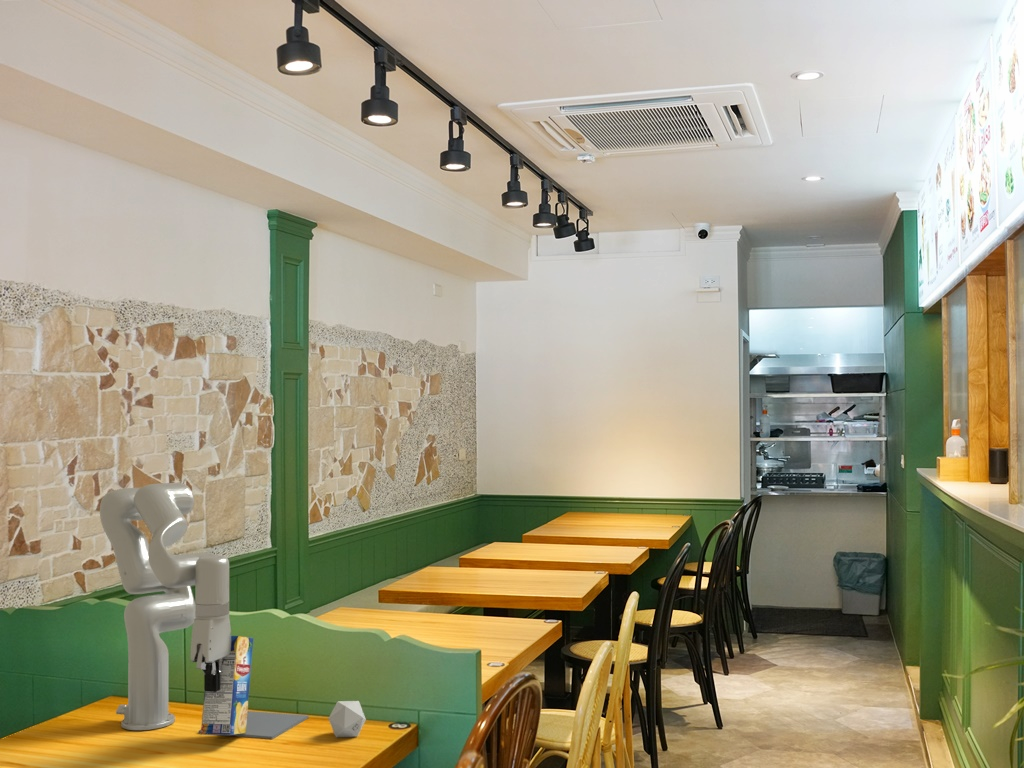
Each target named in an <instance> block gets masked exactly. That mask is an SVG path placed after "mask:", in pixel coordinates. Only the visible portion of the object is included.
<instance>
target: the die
mask: <svg viewBox="0 0 1024 768" xmlns="http://www.w3.org/2000/svg"><path fill="white" fill-rule="evenodd" d="M328 721H329V723H330V726H331V728H332V731H333V733H334V736H335V738H358V737H359V735H360V733H361V731H362V728H363V726H364V725H365V722H366V721H367V718H366V716H365V713H364V711H363V708H362V705H361V703H360V701H359V700H343V701H342V700H341V701H340V700H339V701H337V702H336V704H335V705H334V707H333V709H332V711H331V712H330V714H329V716H328ZM357 736H358V737H357Z"/></svg>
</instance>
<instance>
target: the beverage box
mask: <svg viewBox="0 0 1024 768" xmlns="http://www.w3.org/2000/svg"><path fill="white" fill-rule="evenodd" d="M253 646H254V637H249V636H241V635H231V652H230V654H229V655H228V656H226V657H224V662H223V664H222V671H221V672H219V673H220V690H219V691H217V692H207V691H205V690H204V693H203V694H204V695H203V706H202V715H201V726H200V730H201V733H200V735H201V736H202V735H203V736H204V735H207V736H209V735H210V736H226V735H233V734H242V733H246V723H247V711H249V695H250V685H251V683H250V682H251V671H252V660H253Z"/></svg>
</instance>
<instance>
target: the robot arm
mask: <svg viewBox="0 0 1024 768" xmlns="http://www.w3.org/2000/svg"><path fill="white" fill-rule="evenodd" d="M99 505H100V506H99V518H100V522H101V526H102V528H103V531H104V533H105V535H106V537H107V539H108V540H109V542H110V544H111V546H112V550H113V553H114V557H115V562H116V565H117V570H118V573H119V577H120V581H121V584H122V586H123V590H124V591H125V592H126V593H128V594H130V595H143V594H144V595H143V596H139V597H137V598H134V599H133V600H131V601H129V602H128V603H127V604H126V606H125V608H124V613H123V618H124V620H123V621H124V625H125V630H126V637H127V652H128V653H127V657H128V658H127V659H128V660H127V661H128V663H127V665H128V666H127V667H128V668H127V671H128V673H127V681H128V682H127V686H128V687H127V692H128V693H127V694H128V695H127V700H128V701H127V704H119V705H118V707H117V709H116V711H115V714H116V715H123V717H124V718H123V719H122V720H121V725H120V727H121V728H123V729H125V730H126V731H127V730H128V731H149V730H155V729H161V728H165V727H167V726H170V725H172V724H174V722H175V721H176V716H175V714H173V713H171V712H169V693H170V692H169V686H170V685H169V681H170V680H169V672H170V671H169V669H170V668H169V658H170V657H169V656H170V655H169V648H168V646H167V644H166V643H165V641H164V640H163V639H162V638H161V637H160V634H162V633H166V632H172V631H178V630H182V629H187V628H189V627H191V626H192V629H191V638H190V661H191V662H192V663H196V667H195V668H196V669H197V670H202V674H203V675H204V678H203V682H204V685H203V686H204V690H203V691H204V692H205V691H207V692H217V691H219V690H220V673H219V672H221V671H222V664H223V662H224V657H226V656H228V655H229V654H230V652H231V636H232V628H231V620H230V561H229V560H230V559H228V557H227V556H224V555H217V554H214V553H212V552H210V551H209V552H208V551H205V552H204V551H203V552H195V553H193V552H191V553H183V554H174V553H169V551H168V550H167V548H169V547H170V546H172V545H174V544H175V543H177V542H179V541H180V540H181V539H182V538H183V537H184V536H185V535H186V533H187V532H188V526H189V525H188V520H187V519H186V517H185V516H186V515H188V514H189V513H191V511H193V509H194V506H195V496H194V492H193V491H192V490H191V487H189V486H188V485H187V484H185V483H182V482H167V483H166V482H165V483H164V482H163V483H149V484H146V485H143V486H141V487H128V488H127V487H126V488H119V489H113V490H111V491H109V492H107V493H105V495H104V496H102V499H101V501H100V504H99ZM133 521H134V522H135V521H143V522H144V524H145V525H146V528H147V529H148V530H149V532H150V534H151V536H152V537H151V539H150V542H149V540H148V538H147V536H146V535H145V534H144V533H143V531H141V530H140V528H138V527H137V526H135V525H134V523H132V522H133ZM192 586H195V589H194V591H195V592H194V593H195V596H194V594H193V591H192ZM159 592H164V593H159ZM150 593H151V594H150ZM152 593H158V594H152ZM145 594H149V595H145ZM194 597H195V598H194Z"/></svg>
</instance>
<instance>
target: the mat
mask: <svg viewBox="0 0 1024 768" xmlns="http://www.w3.org/2000/svg"><path fill="white" fill-rule="evenodd" d="M307 719H309V715H308V714H307V715H306V714H294V713H292V714H291V713H281V712H279V713H278V712H265V711H251V710H248V711H247V723H246V733H242V734H233V735H225V736H229V737H230V736H231V737H242V738H253V739H265V740H266V739H267V740H273V739H275V738H277V737H279V736H280V735H283V734H285V732H287V731H289V730H290V729H293V727H296V726H297V725H299V724H301V723H303V722H304V721H306V720H307ZM198 734H201V729H199V730H198Z"/></svg>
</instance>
